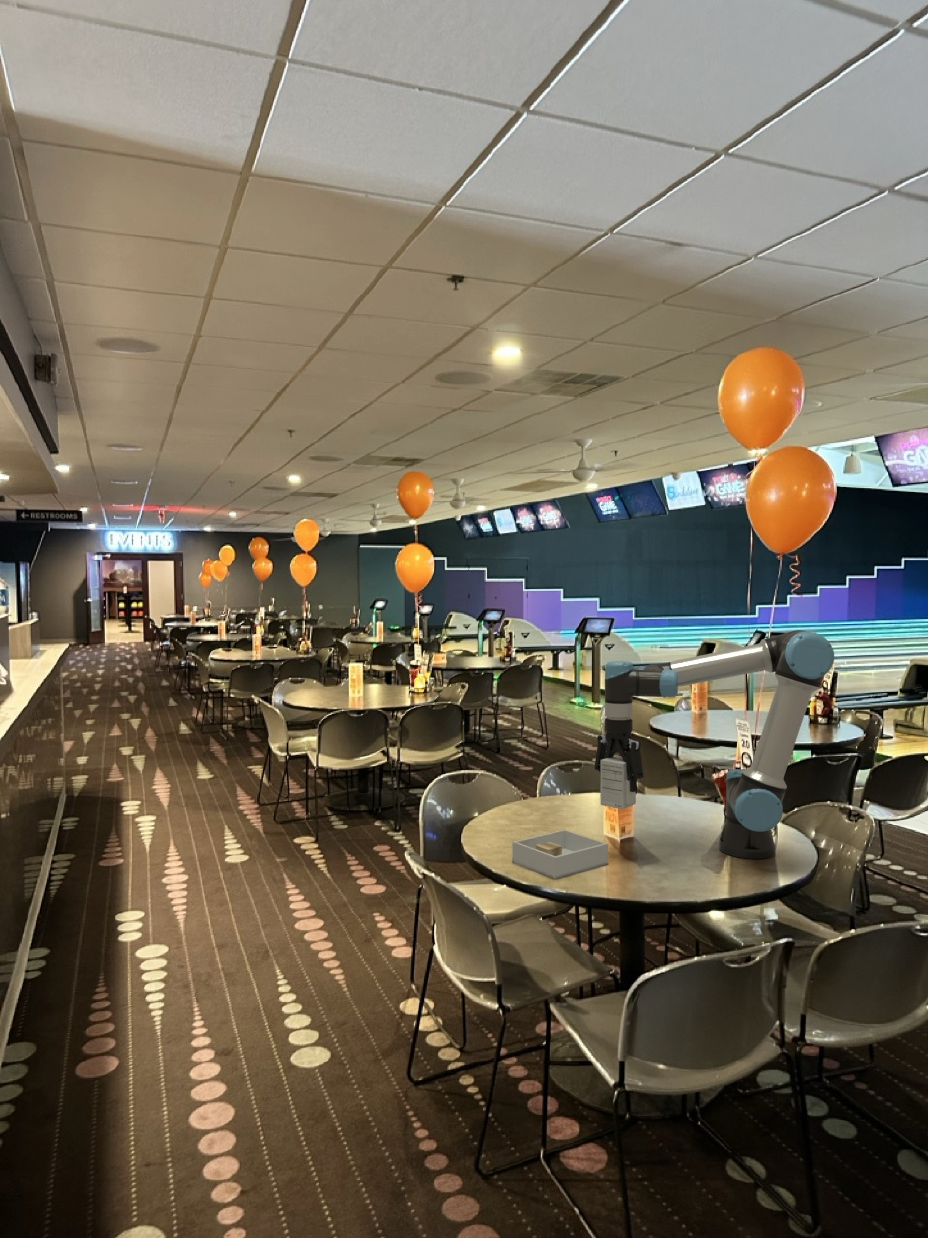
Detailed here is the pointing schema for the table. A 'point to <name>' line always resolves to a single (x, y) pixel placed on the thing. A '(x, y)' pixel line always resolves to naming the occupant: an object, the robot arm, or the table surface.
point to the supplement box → (614, 783)
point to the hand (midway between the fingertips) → (618, 800)
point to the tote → (574, 858)
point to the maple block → (550, 848)
